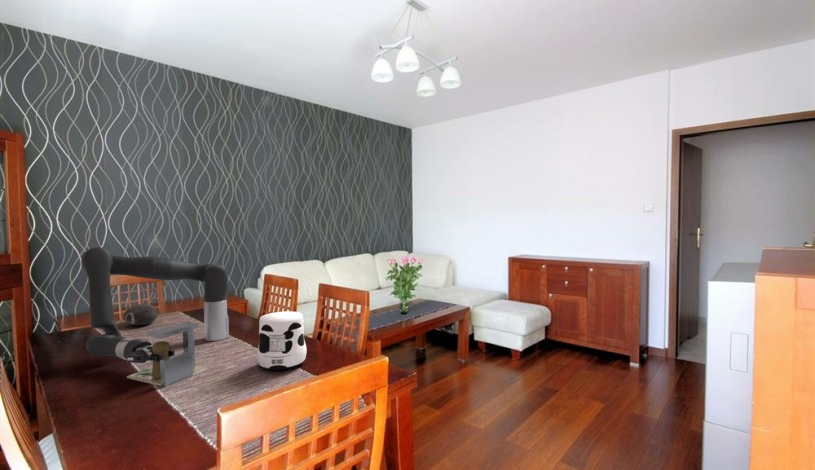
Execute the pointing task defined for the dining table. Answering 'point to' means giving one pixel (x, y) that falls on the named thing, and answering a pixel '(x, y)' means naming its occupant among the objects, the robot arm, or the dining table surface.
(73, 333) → the dining table surface
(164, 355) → the cork
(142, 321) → the decorative stone
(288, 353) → the milk container
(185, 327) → the stand
